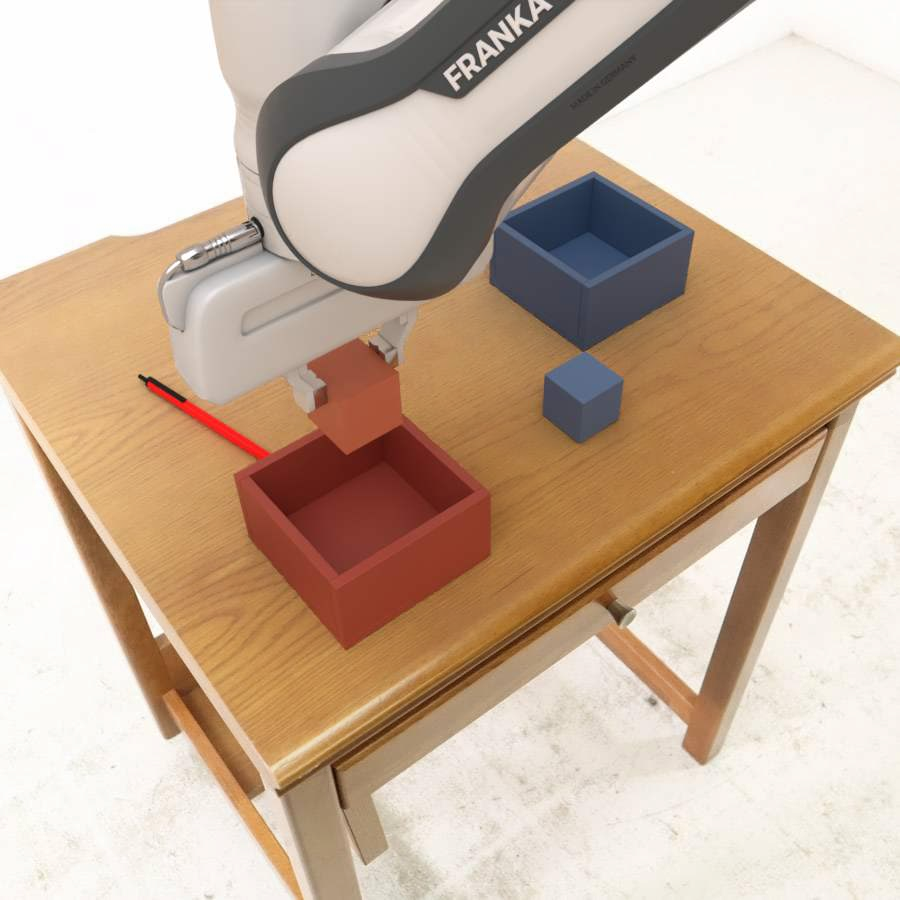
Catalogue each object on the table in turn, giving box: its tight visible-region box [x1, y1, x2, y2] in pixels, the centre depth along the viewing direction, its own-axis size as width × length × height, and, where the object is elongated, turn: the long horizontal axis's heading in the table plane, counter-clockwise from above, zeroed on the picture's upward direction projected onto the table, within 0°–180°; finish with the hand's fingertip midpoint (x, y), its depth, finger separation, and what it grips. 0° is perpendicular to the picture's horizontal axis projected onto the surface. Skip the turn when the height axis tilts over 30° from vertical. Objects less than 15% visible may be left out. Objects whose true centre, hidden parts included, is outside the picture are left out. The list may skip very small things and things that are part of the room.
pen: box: [137, 373, 272, 461], centre depth 85 cm, size 1×19×1 cm, turn 51°
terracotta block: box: [306, 337, 403, 455], centre depth 66 cm, size 4×4×4 cm
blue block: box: [541, 350, 625, 444], centre depth 84 cm, size 4×4×4 cm
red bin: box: [233, 412, 492, 651], centre depth 75 cm, size 13×13×7 cm
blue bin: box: [489, 170, 696, 352], centre depth 95 cm, size 13×13×7 cm
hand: (350, 382), depth 66 cm, fingers closed on terracotta block, 4 cm apart
